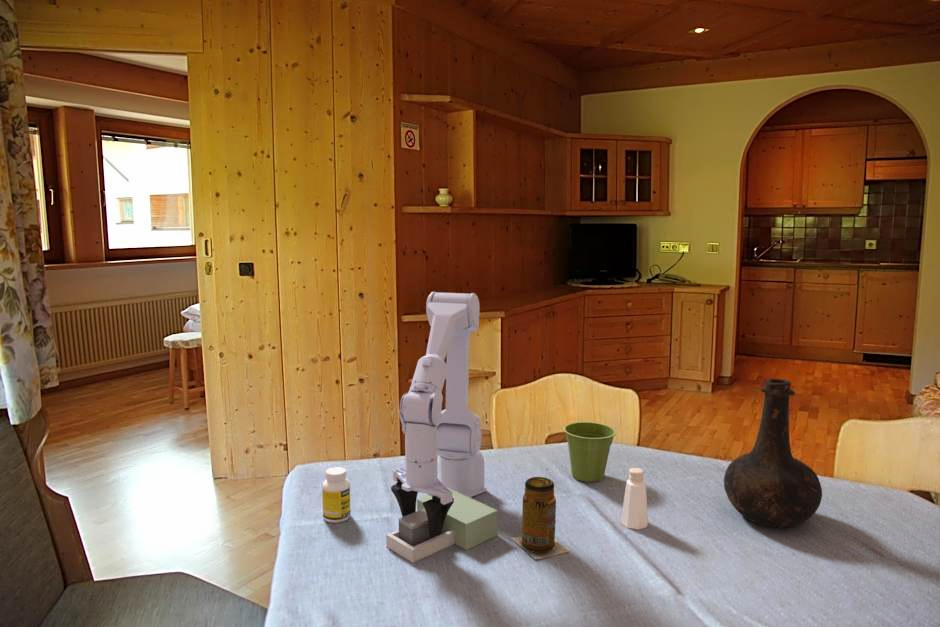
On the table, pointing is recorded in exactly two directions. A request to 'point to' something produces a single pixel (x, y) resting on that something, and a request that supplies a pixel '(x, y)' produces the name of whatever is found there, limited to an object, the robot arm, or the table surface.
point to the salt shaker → (635, 501)
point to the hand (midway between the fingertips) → (422, 528)
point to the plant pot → (589, 449)
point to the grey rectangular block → (414, 528)
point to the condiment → (539, 520)
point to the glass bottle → (773, 470)
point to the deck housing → (451, 528)
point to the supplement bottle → (336, 495)
